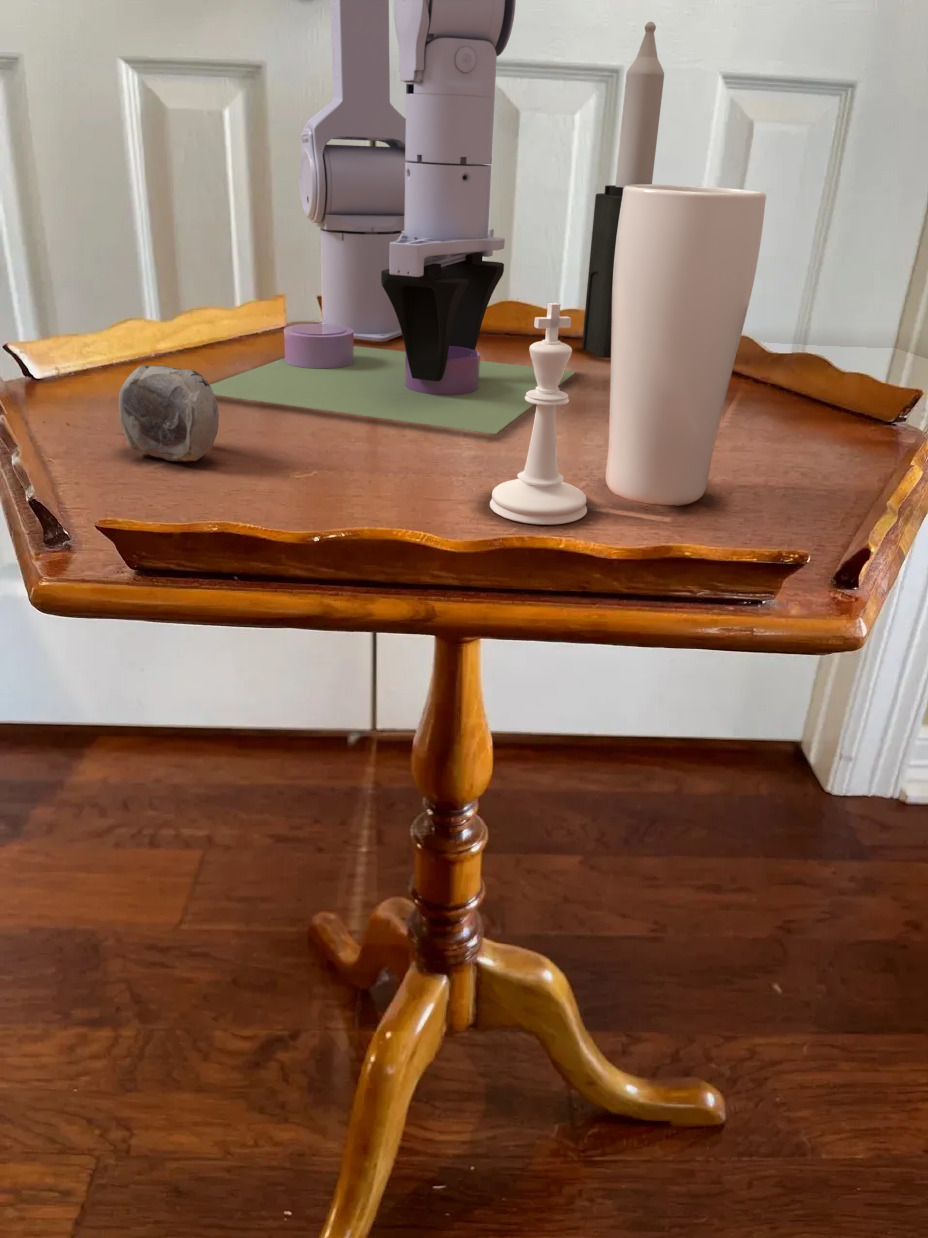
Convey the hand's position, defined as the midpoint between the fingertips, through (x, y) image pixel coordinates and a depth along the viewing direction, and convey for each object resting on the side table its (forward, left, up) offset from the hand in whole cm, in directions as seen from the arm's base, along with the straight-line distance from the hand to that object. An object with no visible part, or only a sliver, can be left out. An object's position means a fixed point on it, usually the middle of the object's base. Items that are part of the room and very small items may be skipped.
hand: (442, 370), depth 71 cm
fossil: (+22, -8, -2) cm, 23 cm away
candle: (-20, +8, -2) cm, 22 cm away
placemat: (0, -4, -1) cm, 4 cm away
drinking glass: (+16, +18, -2) cm, 25 cm away
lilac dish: (-3, -12, -1) cm, 12 cm away
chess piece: (+21, +13, -2) cm, 25 cm away
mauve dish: (0, 0, -1) cm, 1 cm away
